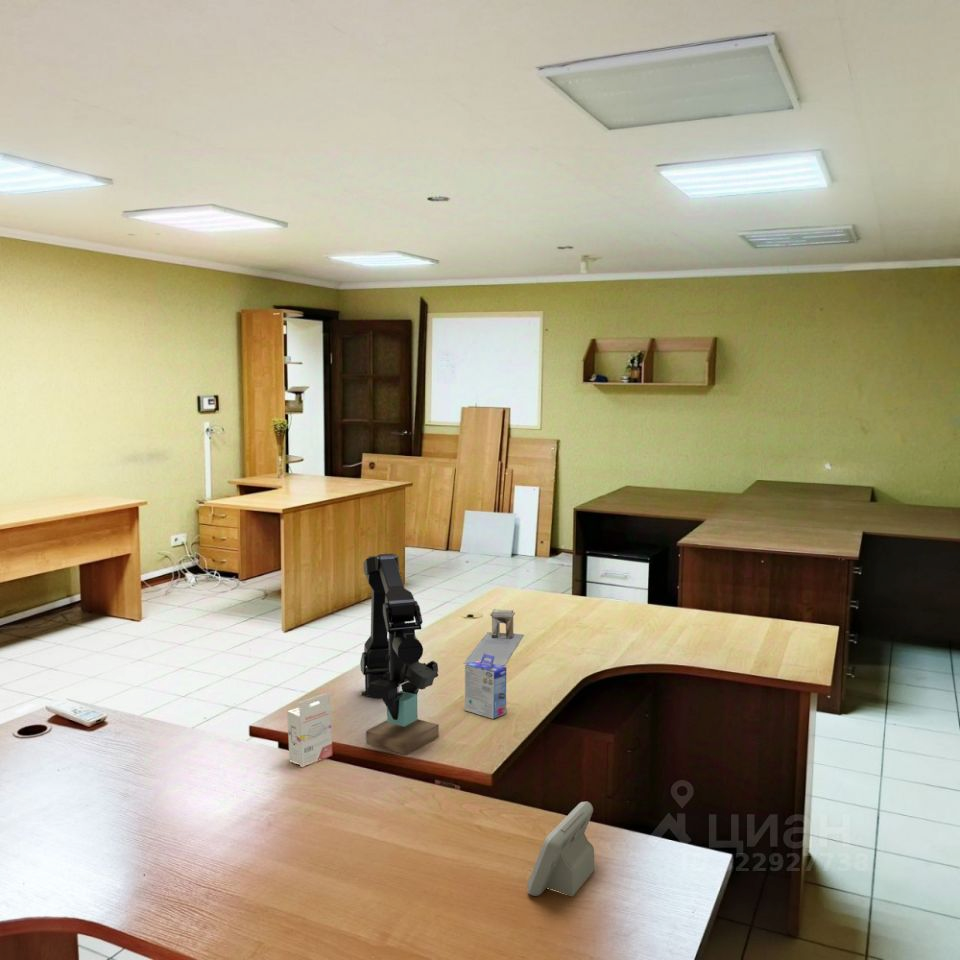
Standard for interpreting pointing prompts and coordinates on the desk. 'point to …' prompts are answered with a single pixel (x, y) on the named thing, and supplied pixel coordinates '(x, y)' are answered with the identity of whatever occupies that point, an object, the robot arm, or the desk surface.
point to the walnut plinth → (402, 736)
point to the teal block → (405, 710)
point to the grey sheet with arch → (497, 640)
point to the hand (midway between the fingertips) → (402, 715)
